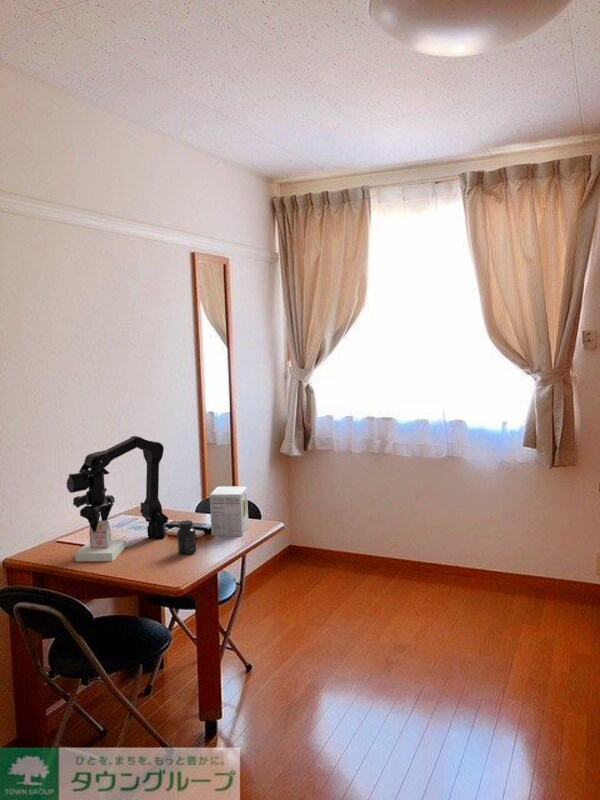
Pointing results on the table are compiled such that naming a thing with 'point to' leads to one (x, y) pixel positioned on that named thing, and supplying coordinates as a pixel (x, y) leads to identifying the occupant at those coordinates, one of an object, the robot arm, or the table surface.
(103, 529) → the white paper carton
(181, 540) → the supplement bottle
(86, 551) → the plinth
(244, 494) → the supplement box
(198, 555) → the table surface
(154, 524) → the robot arm
